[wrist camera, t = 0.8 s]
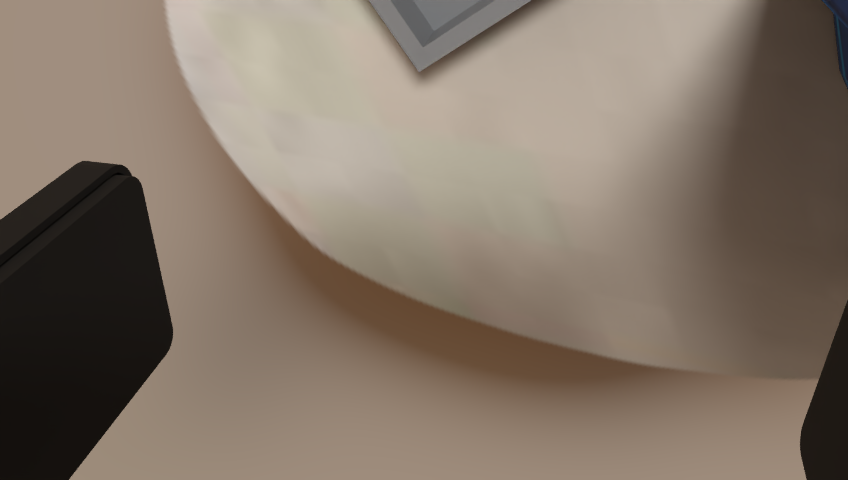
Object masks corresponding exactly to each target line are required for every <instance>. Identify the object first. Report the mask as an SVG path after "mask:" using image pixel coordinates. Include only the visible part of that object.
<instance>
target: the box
mask: <svg viewBox="0 0 848 480" xmlns="http://www.w3.org/2000/svg"><path fill="white" fill-rule="evenodd" d="M369 1H370V3H371V4H372V6H373V7H374V8H375V10H376V11H377V13H378V14H379V16H380V17H381V19H382V20H383V21H384V23H385V24H386V26H387V27H388V29H389V30H390V31H391V33H392V34H393V36H394V37H395V39H396V40H397V42H398V43H399V44H400V46H401V47H402V49H403V50H404V52H405V53H406V54H407V56H408V57H409V59H410V60H411V62H412V63H413V64H414V66H415V67H416V69H417V70H418V72H420V71H422V70H423V69H425V68H426V67H428V66H430V65H431V64H433V63H434V62H436V61H437V60H439V59H440V58H442V57H444V56H445V55H447V54H448V53H450V52H451V51H453V50H454V49H456V48H458V47H459V46H461V45H462V44H464V43H465V42H467V41H469V40H470V39H472V38H473V37H475V36H476V35H478V34H479V33H481V32H483V31H484V30H486V29H487V28H489V27H490V26H492V25H493V24H495V23H497V22H498V21H500V20H501V19H503V18H504V17H506V16H507V15H509V14H511V13H512V12H514V11H515V10H517V9H518V8H520V7H522V6H523V5H525V4H526V3H528V2H529V1H531V0H369Z"/></svg>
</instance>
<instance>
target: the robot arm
mask: <svg viewBox="0 0 848 480" xmlns="http://www.w3.org/2000/svg"><path fill="white" fill-rule="evenodd" d="M172 338H173V327H172V322H171V317H170V313H169V308H168V304H167V299H166V295H165V290H164V285H163V280H162V276H161V271H160V267H159V262H158V257H157V253H156V248H155V244H154V239H153V234H152V230H151V225H150V221H149V216H148V211H147V207H146V202H145V197H144V193H143V188H142V185H141V183H140V181H139V180H138V179H137V178H136V177H133V176H132V175H131V173H130V171H129V170H128V168H126V167H125V166H123V165H117V164H108V163H99V162H90V161H82V162H80V163H77V164H76V165H74V166H73V167H72V168H70V169H69V170H68V171H66V172H65V173H63V174H62V175H61V176H59V177H58V178H57V179H56V180H54V181H53V182H51V183H50V184H48V185H47V186H46V187H44V188H43V189H42V190H40V191H39V192H38V193H36V194H35V195H34V196H33V197H31V198H29V199H28V200H27V201H25V202H24V203H23V204H21V205H20V206H19V207H17V208H16V209H14V210H13V211H12V212H11V213H9V214H8V215H6V216H5V217H4V218H2V219H1V220H0V480H69V479H70V477H71V476H72V475H73V473H74V472H75V471H76V470H77V468H78V467H79V466H80V464H81V463H82V462H83V461H84V459H85V458H86V457H87V455H88V454H89V453H90V451H91V450H92V449H93V448H94V446H95V445H96V444H97V443H98V441H99V440H100V439H101V438H102V436H103V435H104V434H105V432H106V431H107V430H108V428H109V427H110V426H111V425H112V423H113V422H114V421H115V419H116V418H117V417H118V416H119V414H120V413H121V412H122V410H123V409H124V408H125V407H126V405H127V404H128V403H129V402H130V400H131V399H132V398H133V396H134V395H135V394H136V393H137V391H138V390H139V389H140V387H141V386H142V385H143V383H144V382H145V381H146V380H147V378H148V377H149V376H150V374H151V373H152V372H153V371H154V369H155V368H156V367H157V365H158V364H159V363H160V362H161V360H162V359H163V358H164V357H165V355H166V354H167V352H168V351H169V349H170V346H171V343H172ZM800 450H801V457H802V461H803V466H804V470H805V474H806V478H807V480H848V301H847V303H846V306H845V309H844V312H843V314H842V317H841V320H840V323H839V326H838V328H837V331H836V334H835V337H834V339H833V342H832V345H831V348H830V351H829V353H828V356H827V359H826V362H825V364H824V367H823V370H822V373H821V376H820V378H819V381H818V384H817V387H816V390H815V392H814V395H813V398H812V401H811V403H810V406H809V409H808V412H807V414H806V417H805V420H804V423H803V426H802V430H801V439H800Z"/></svg>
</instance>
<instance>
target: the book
mask: <svg viewBox="0 0 848 480" xmlns="http://www.w3.org/2000/svg"><path fill="white" fill-rule="evenodd" d="M822 1H823V2H824V3H825V4H826V6H827V7H828V8H829V9H830V10H831V11H832V12H833V15H834V24H835V33H836V42H837V51H838V60H839V69H840V72H841V75H842V77H843V79H844V82H845V84H846V86H847V89H848V0H822Z"/></svg>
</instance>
